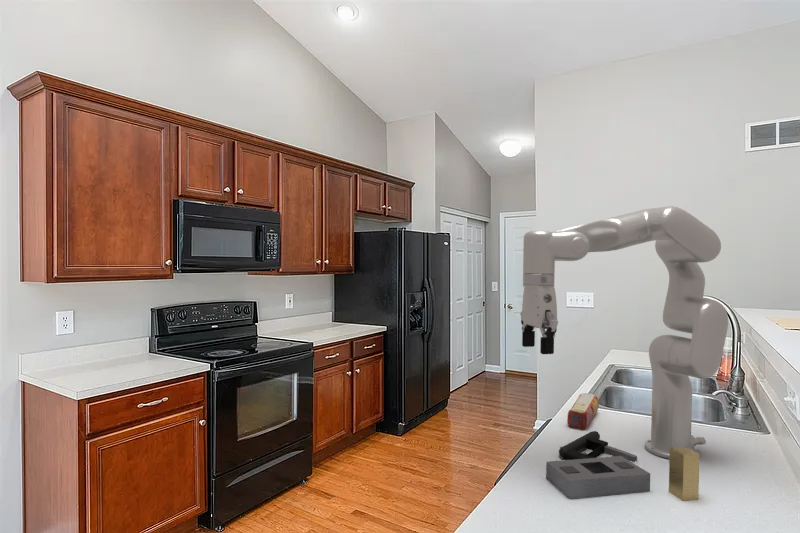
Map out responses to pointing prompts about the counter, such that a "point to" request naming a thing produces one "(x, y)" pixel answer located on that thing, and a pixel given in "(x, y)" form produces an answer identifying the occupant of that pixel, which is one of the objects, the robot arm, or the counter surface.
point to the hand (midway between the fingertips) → (537, 350)
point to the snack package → (582, 411)
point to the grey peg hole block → (597, 477)
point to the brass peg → (684, 473)
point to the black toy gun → (591, 448)
